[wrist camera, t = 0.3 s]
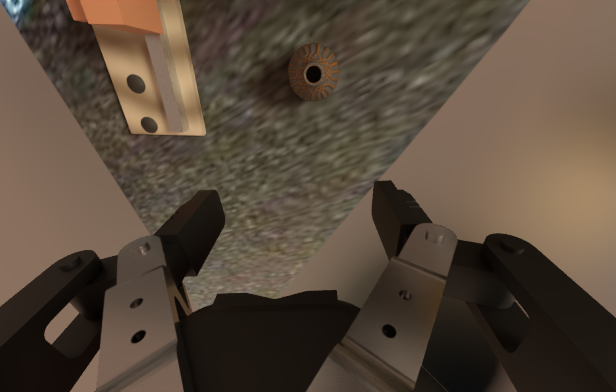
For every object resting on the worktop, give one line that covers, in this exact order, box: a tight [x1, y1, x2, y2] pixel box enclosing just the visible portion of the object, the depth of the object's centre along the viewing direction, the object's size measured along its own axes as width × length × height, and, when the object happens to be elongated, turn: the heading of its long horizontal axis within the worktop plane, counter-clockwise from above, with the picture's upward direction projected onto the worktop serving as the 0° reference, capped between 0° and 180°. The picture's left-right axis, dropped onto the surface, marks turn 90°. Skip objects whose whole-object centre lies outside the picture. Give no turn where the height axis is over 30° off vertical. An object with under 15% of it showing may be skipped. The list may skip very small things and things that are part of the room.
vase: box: [288, 43, 339, 101], centre depth 30 cm, size 7×7×9 cm
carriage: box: [66, 0, 164, 34], centre depth 25 cm, size 4×8×9 cm, turn 89°
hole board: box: [92, 0, 206, 136], centre depth 31 cm, size 25×12×1 cm, turn 179°
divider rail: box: [144, 0, 190, 132], centre depth 30 cm, size 23×8×3 cm, turn 179°
